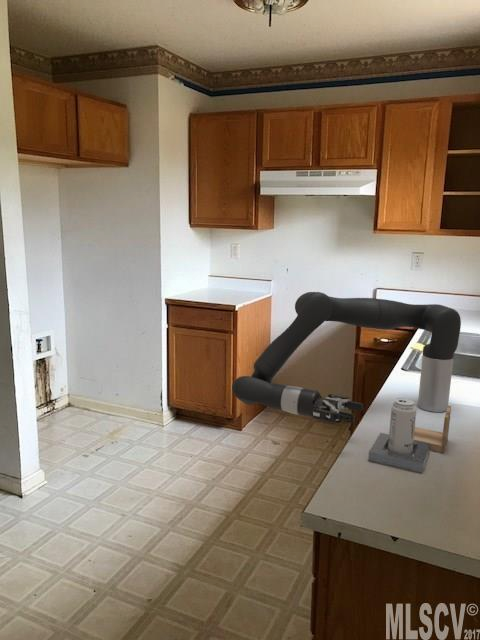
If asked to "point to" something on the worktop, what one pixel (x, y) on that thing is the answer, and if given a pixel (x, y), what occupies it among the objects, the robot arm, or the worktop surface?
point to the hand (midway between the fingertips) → (358, 412)
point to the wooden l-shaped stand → (435, 435)
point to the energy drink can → (402, 426)
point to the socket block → (396, 459)
